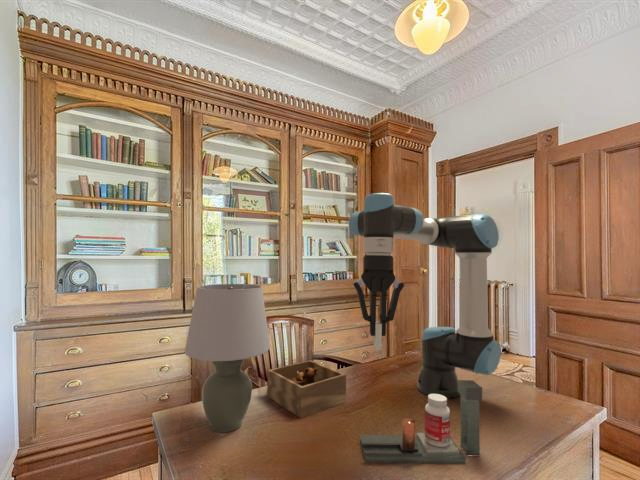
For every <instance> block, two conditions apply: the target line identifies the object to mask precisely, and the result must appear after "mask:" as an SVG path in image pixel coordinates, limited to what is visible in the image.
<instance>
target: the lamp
mask: <svg viewBox="0 0 640 480" xmlns="http://www.w3.org/2000/svg"><path fill="white" fill-rule="evenodd" d="M194 296H195V297H194V302H193V306H192V312H191V315H190V316H191V317H190V322H189V327H188V332H187V338H186V343H185V347H184V348H185V349H184V353H185V355H186V356H187V357H189V358H190V359H194V360H198V361H205V362H207V361H208V362H211V364H212V366H213V370H214V371H213V372H212V373H211V374H209V376H207V377H206V379H205V381H204V383H203V384H202V389H201V403H202V408H203V410H204V414H205V417H206V419H207V421H208V423H209V426H210V428H211V430H212V431H214V432H217V433H229V432H233V431H235V430H237V429H239V428H240V427H241V426H242V423H243V421H244V418H245V416H246V414H247V412H248V410H249V406H250V404H251V399H252V391H253V383H252V380H251V378H250V377H249V375H248V374H247V373H246V371H244V370H242V366H243V364H244V363H245V360H246V359H247V360H248V359H252V358H255V357H256V358H257V357H258V356H261V355H263V354H265V353H267V352H268V351H269V350H270V347H271V346H270V339H269V338H270V337H269V330H268V323H267V321H268V320H267V315H266V306H265V299H264V298H265V297H264V291H263V286H262V285H260V284H251V283H250V284H249V283H216V284H215V283H214V284H213V283H212V284H203V285H198V286H196V290H195V295H194Z"/></svg>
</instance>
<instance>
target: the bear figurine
mask: <svg viewBox="0 0 640 480" xmlns="http://www.w3.org/2000/svg"><path fill="white" fill-rule="evenodd" d="M316 371H317V368H316V367H315V368H314V369H313V368H308V367H307V368H306V369H305V372H304V373H303V372H299V373H298V371H297V379H296V378H293V379H292V381H293V382H295V383H297V384H299V385H301V386H305V385H308V384H312V383H315V379H314V377H315V375H316Z"/></svg>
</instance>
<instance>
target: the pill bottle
mask: <svg viewBox="0 0 640 480" xmlns="http://www.w3.org/2000/svg"><path fill="white" fill-rule="evenodd" d="M427 402H428V403H426V405H425V406H424V433H425V439H426V441H427V442H428V443H429V444H431V445H433V446H437V447H446V446H448V445H449V444H450V437H451V409H450V407H448V406H447V405H448V398H446V397H445V396H443V395H440V394H429V395H427Z"/></svg>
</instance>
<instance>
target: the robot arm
mask: <svg viewBox="0 0 640 480" xmlns="http://www.w3.org/2000/svg"><path fill="white" fill-rule="evenodd" d="M363 204H364V205H363V210H360V211H356V212H354V213H352V214H350V216H349V218H348V228H349V231H350V232H351V234H352V235H354V236H359V237H363V250H362V251H363V253H364V254H365V255H364V256H363V258H362V259H363V262H362V263H363V270H362V274H361V278H359V279H357V280H356V281H352V286H353V287H354V290H356V294H357V298H358V303H359V307H360V311H361V316H362V318H363V320H364V321H367V322H369V334H370V337H373V349H374V350H375V351H378V352H379V351H382V347H383V346H382V344H383V342H382V341H383V340H382V338H383V337H386V335H387V334H386V332H387V323H388V322H392V321H394V319H395V315H396V310H397V307H398V302H399V299H400V294H401V291H402V290H403V288H404V287H405V284H404V282H400V280H398V279H396V275H395V274H394V257H393V255H392V254H394V239H398V240H399V239H400V240H409V241H418V242H419V243H420V244H422V245H427V246H434V247H439V248H445V249H446V248H447V249H454V254H455V255H456V256H457V257H458V259H459V289H460V290H459V291H460V295H459V297H460V301H459V302H460V327H458V328H457V329H455V327H451V326H431V327H425V329H424V330H422V337H421V344H422V345H421V347H422V349H421V351H422V353H421V355H422V358H421V359H422V368H421V369H420V373H419V376H418V379H417V389H418V391H420V392H421V393H423V394H424V395H427V396H428V395H429V394H440V395H443V396H445V397H446V398H447V399H449V398H448V397H454V398H456V397H455V396H458V395H459V394H460V393H459V392H458V380H459V379H458V376H457V372H456V368H457V369H461V370H465V371H468V372H472V373H475V374H476V375H478V374H479V375H484V376H490V375H491V374H493V373H495V371H496V370H497V369H498V366H499V364H500V362H501V361H500V360H501V357H502V347H501V344H500V341H497V340H494V332H493V331H492V330H490V328H489V310H488V309H489V306H488V305H489V303H488V297H489V296H488V257H489V256H490V255H492V249H494V248H496V247H497V246H498V245H499V242H498V241H499V240H500V239H499V231H498V227H497V223H496V222H495V219H494V218H492V217H491V216H490V215H489V214H487V213H472V214H464V215H463V214H462V215H461V214H460V215H454V216H452V215H451V216H443V217H435V218H430V217H426V218H424V216H423V213H422V212H421V211H420V210H419V209H418V208H414V207H412V206H404V205H399V204H398V205H397V204H396V203H395V198H394V196H393V194H391V193H388V192H387V193H385V192H374V193H369V194H367V195H365V196H364V202H363ZM363 283H364V285H365V286H366V288H367V289H368V290H369V313H368V310H367V309H368V308H367V305H366V300H365V296H364V292H363V291H364V290H363V289H362V288H363V287H364V285H363ZM391 286H392V287H393V289H392V293H391V298H390V302H389V306H388V310H387V295H388V290H389V289H390V287H391ZM377 292H379V321H377ZM460 395H461V394H460ZM460 395H459V396H460ZM459 396H458V397H459Z"/></svg>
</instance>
